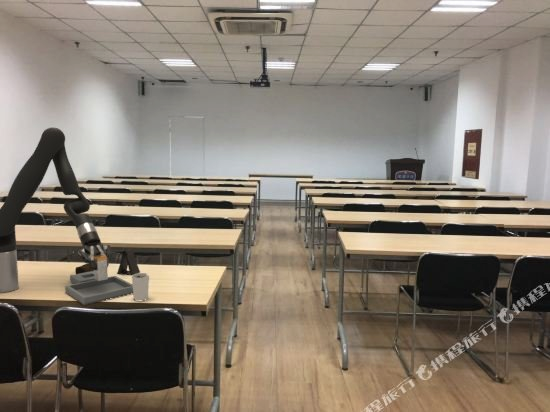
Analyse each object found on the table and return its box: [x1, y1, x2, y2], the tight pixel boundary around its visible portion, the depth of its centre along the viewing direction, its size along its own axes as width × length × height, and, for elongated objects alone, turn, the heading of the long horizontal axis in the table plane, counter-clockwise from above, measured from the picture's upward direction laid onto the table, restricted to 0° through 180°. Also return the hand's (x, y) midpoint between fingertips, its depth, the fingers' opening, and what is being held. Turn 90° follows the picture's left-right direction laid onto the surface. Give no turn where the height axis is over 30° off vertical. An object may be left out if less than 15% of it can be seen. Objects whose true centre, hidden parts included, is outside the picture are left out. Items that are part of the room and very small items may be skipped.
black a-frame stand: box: [116, 248, 141, 277], centre depth 213 cm, size 9×6×12 cm, turn 78°
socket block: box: [69, 270, 95, 284], centre depth 199 cm, size 12×12×3 cm
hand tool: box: [75, 263, 94, 274], centre depth 219 cm, size 23×5×6 cm, turn 168°
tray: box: [64, 275, 133, 306], centre depth 185 cm, size 22×20×3 cm
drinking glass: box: [131, 272, 150, 301], centre depth 178 cm, size 7×7×10 cm
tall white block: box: [93, 254, 109, 281], centre depth 184 cm, size 4×4×10 cm
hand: (101, 268), depth 183 cm, fingers closed on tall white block, 4 cm apart
